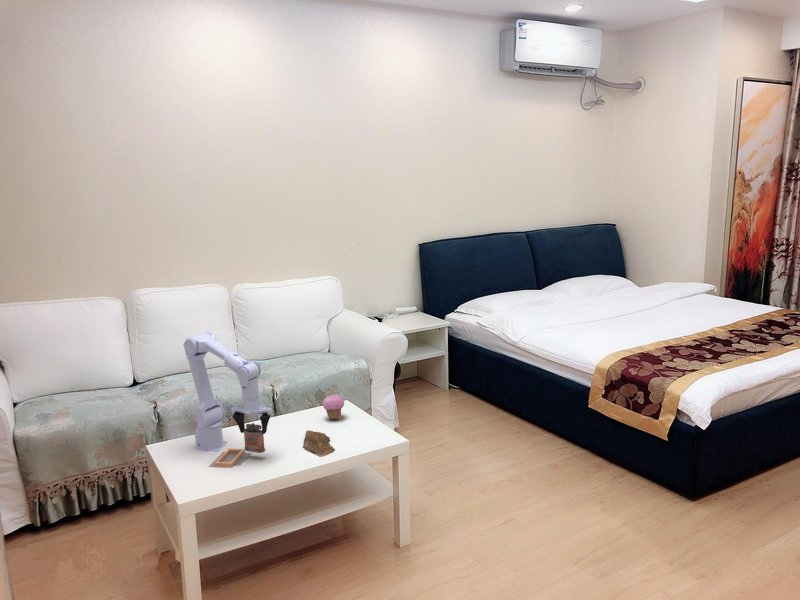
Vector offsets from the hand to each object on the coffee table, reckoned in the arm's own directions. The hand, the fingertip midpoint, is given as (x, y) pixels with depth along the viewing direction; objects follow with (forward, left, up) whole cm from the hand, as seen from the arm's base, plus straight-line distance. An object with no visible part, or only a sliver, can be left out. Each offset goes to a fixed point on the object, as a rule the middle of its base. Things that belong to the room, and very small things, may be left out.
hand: (253, 432), depth 219 cm
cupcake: (+18, +39, -11) cm, 45 cm away
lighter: (0, 0, -7) cm, 7 cm away
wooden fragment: (+22, +17, -12) cm, 30 cm away
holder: (-9, -3, -10) cm, 14 cm away
